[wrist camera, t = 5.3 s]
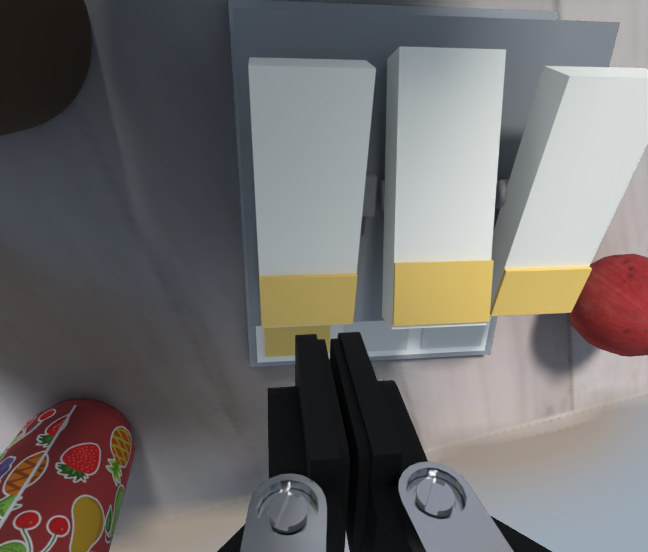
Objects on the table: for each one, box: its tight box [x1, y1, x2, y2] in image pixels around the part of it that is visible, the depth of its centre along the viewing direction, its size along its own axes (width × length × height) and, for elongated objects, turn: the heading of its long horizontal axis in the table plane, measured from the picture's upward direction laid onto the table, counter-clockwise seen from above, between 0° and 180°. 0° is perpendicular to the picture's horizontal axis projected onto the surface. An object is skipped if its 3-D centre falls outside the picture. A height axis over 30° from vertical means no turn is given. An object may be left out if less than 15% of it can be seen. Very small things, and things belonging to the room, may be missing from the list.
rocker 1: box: [248, 57, 376, 328], centre depth 17 cm, size 10×4×3 cm, turn 179°
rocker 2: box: [378, 46, 506, 329], centre depth 17 cm, size 10×4×3 cm, turn 179°
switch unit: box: [228, 0, 620, 367], centre depth 22 cm, size 20×16×7 cm
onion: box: [569, 254, 648, 356], centre depth 26 cm, size 6×6×8 cm
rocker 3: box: [490, 66, 648, 316], centre depth 18 cm, size 10×4×3 cm, turn 179°
